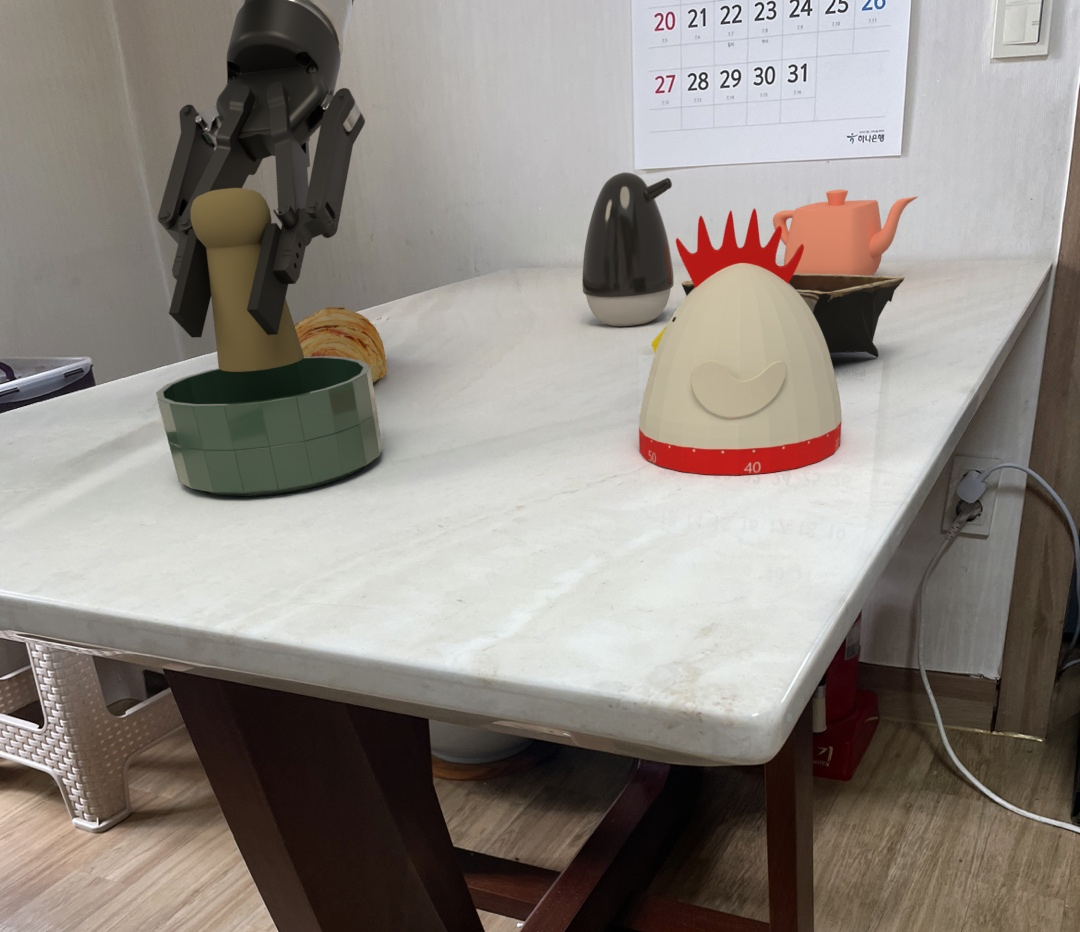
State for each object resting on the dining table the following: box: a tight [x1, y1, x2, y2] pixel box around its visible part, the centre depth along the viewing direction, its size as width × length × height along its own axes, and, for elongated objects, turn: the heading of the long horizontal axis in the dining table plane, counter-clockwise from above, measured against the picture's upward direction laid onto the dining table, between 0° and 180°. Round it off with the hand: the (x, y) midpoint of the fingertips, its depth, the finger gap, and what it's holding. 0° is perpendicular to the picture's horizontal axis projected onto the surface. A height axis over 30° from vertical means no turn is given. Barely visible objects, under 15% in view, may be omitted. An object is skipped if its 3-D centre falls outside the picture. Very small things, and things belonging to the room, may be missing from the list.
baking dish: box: [680, 273, 906, 359], centre depth 92 cm, size 14×18×10 cm
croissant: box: [294, 306, 388, 383], centre depth 102 cm, size 21×10×8 cm, turn 8°
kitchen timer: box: [638, 208, 843, 476], centre depth 70 cm, size 14×14×15 cm
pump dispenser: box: [581, 171, 674, 327], centre depth 115 cm, size 10×10×15 cm
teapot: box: [772, 189, 918, 276], centre depth 129 cm, size 12×18×10 cm, turn 56°
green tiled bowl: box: [155, 356, 383, 497], centre depth 76 cm, size 15×15×6 cm
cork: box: [191, 187, 304, 372], centre depth 71 cm, size 6×6×11 cm
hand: (223, 323), depth 69 cm, fingers closed on cork, 5 cm apart
